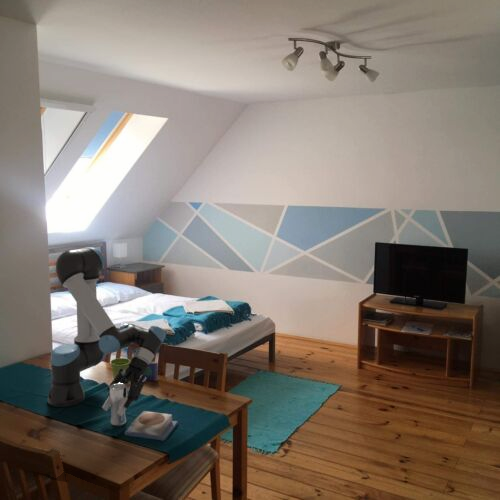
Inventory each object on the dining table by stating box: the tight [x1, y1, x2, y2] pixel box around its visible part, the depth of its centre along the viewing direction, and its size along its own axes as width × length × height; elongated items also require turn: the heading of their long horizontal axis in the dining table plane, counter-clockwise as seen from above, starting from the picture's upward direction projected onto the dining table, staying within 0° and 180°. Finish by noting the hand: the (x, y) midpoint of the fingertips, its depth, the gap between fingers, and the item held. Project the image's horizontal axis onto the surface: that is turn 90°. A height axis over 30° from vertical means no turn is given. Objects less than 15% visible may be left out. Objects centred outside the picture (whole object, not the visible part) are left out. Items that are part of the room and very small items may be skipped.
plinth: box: [130, 410, 173, 436], centre depth 210 cm, size 12×12×3 cm
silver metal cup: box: [108, 383, 128, 427], centre depth 215 cm, size 7×7×15 cm
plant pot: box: [109, 357, 131, 380], centre depth 260 cm, size 9×9×9 cm
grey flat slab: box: [124, 420, 179, 442], centre depth 211 cm, size 16×14×1 cm
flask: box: [143, 360, 159, 382], centre depth 260 cm, size 9×3×11 cm, turn 74°
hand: (111, 411), depth 212 cm, fingers open, 8 cm apart
